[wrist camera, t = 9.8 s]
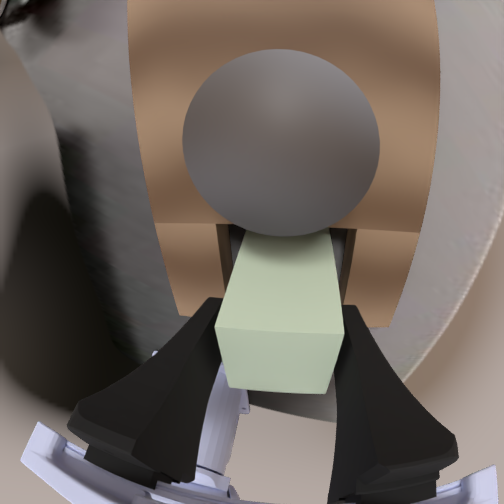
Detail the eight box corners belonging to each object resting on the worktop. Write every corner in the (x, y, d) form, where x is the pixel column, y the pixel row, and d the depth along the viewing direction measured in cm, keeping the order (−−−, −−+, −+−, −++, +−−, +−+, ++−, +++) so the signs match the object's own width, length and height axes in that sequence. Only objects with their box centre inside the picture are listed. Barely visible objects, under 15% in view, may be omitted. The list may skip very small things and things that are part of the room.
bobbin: (349, 194, 10) (367, 240, 7) (223, 191, 11) (195, 234, 8) (354, 66, 8) (382, 57, 5) (213, 67, 8) (174, 60, 5)
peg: (328, 223, 14) (344, 333, 8) (321, 285, 16) (325, 393, 10) (249, 221, 14) (214, 326, 8) (253, 282, 16) (229, 387, 11)
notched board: (382, 303, 15) (388, 327, 14) (189, 292, 17) (179, 315, 16) (404, -49, 5) (418, -63, 3) (150, -41, 6) (130, -53, 5)
